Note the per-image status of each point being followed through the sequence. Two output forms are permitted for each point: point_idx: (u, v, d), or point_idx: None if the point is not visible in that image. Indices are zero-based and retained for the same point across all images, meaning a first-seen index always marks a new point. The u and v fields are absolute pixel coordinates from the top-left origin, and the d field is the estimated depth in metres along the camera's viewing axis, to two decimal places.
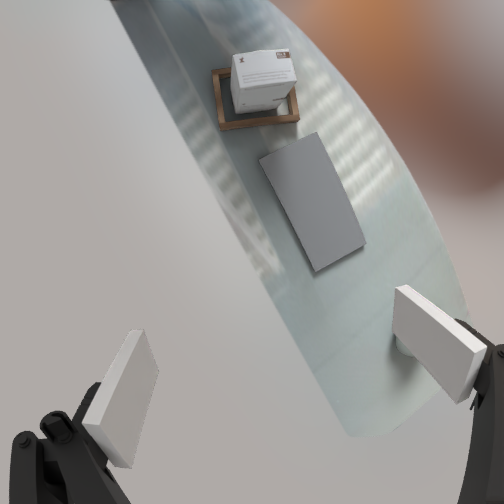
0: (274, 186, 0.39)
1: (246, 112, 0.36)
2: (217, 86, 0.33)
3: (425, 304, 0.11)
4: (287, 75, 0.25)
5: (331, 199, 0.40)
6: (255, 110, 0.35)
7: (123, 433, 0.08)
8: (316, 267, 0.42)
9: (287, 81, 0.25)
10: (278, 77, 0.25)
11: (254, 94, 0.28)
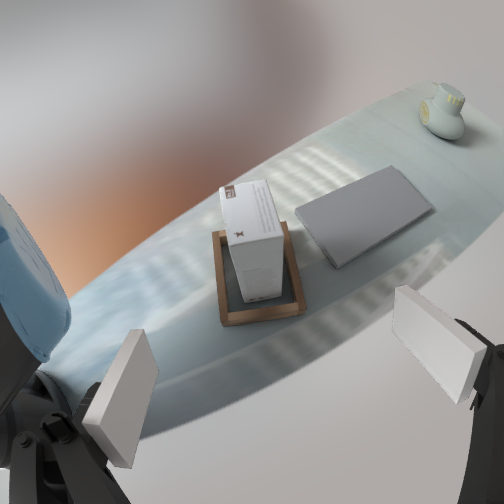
0: (364, 248, 0.32)
1: None
2: (246, 313, 0.28)
3: (425, 304, 0.11)
4: (259, 186, 0.23)
5: (363, 194, 0.36)
6: None
7: (123, 433, 0.08)
8: (427, 206, 0.35)
9: (268, 187, 0.23)
10: (264, 195, 0.23)
11: None
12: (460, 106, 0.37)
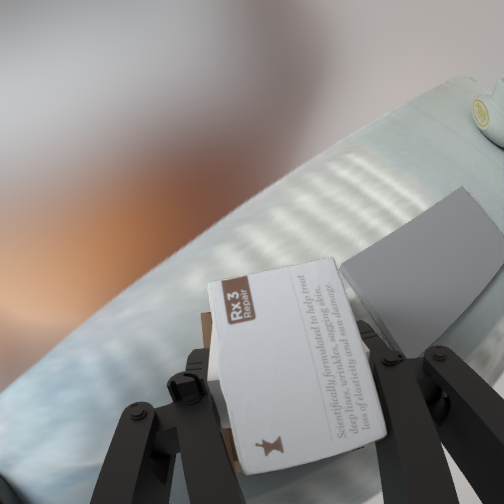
0: (445, 328, 0.18)
1: None
2: None
3: None
4: (320, 284, 0.08)
5: (436, 234, 0.22)
6: None
7: None
8: None
9: (342, 282, 0.08)
10: (335, 312, 0.08)
11: None
12: None
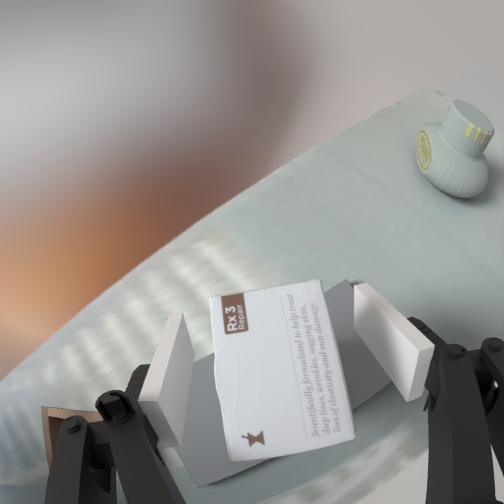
0: (248, 465, 0.16)
1: None
2: None
3: (379, 302, 0.13)
4: (306, 303, 0.10)
5: None
6: None
7: (174, 411, 0.10)
8: None
9: (326, 302, 0.10)
10: (317, 329, 0.09)
11: None
12: (486, 143, 0.21)
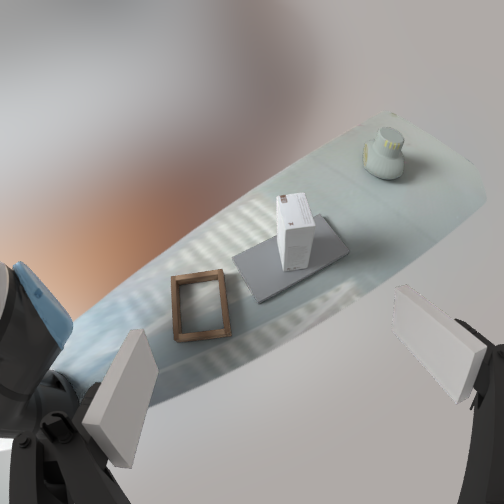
0: (280, 288, 0.46)
1: None
2: (190, 335, 0.42)
3: (425, 304, 0.11)
4: (301, 197, 0.39)
5: None
6: None
7: (123, 433, 0.08)
8: (345, 250, 0.48)
9: None
10: (304, 202, 0.39)
11: None
12: (397, 149, 0.50)
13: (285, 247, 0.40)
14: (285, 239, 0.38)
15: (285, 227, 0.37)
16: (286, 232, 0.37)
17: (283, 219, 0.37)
